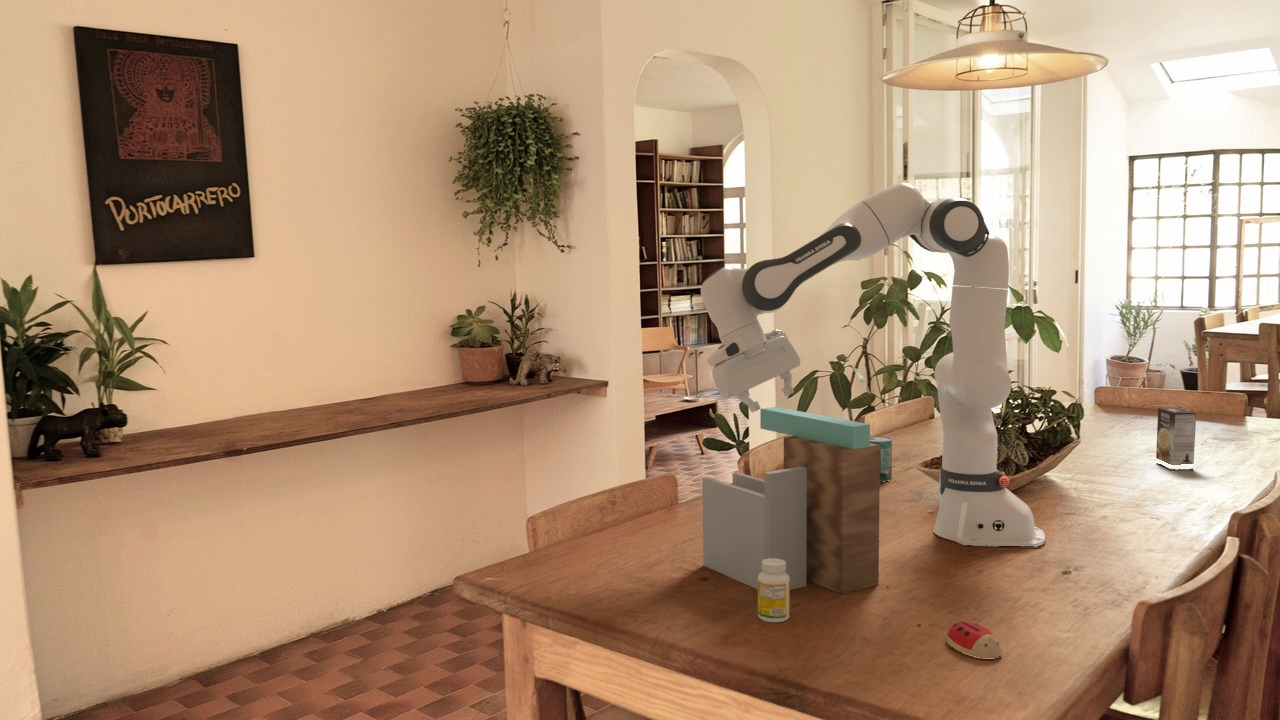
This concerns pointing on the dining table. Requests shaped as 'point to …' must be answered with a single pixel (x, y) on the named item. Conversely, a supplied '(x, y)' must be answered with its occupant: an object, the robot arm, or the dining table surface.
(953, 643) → the ladybug figurine
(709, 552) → the grey boxy piece
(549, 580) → the dining table surface
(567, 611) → the dining table surface
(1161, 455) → the coffee box
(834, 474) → the stand
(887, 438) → the canned tomato
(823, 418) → the teal square bar
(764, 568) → the supplement bottle
